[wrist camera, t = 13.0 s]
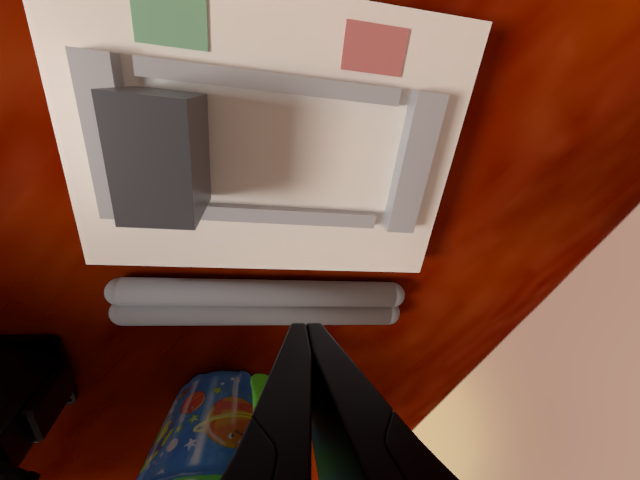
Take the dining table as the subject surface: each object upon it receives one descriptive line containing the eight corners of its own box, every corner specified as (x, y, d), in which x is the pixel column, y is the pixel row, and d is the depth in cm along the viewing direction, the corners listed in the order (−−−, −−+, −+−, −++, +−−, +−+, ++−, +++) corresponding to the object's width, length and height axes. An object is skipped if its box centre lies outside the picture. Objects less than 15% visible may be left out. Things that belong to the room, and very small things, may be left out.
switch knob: (149, 194, 16) (115, 226, 13) (135, 86, 14) (90, 89, 11) (211, 198, 17) (195, 230, 13) (207, 93, 15) (186, 99, 11)
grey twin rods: (118, 313, 22) (106, 332, 20) (6, -227, 11) (-36, -276, 10) (392, 313, 25) (400, 329, 24) (502, -105, 15) (530, -126, 13)
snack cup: (226, 463, 31) (208, 620, 22) (118, 429, 27) (42, 605, 18) (332, 364, 27) (362, 508, 18) (223, 307, 23) (191, 456, 14)
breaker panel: (102, 247, 20) (76, 274, 17) (42, -44, 14) (-14, -74, 11) (408, 257, 23) (426, 281, 20) (469, 27, 17) (505, 18, 14)
